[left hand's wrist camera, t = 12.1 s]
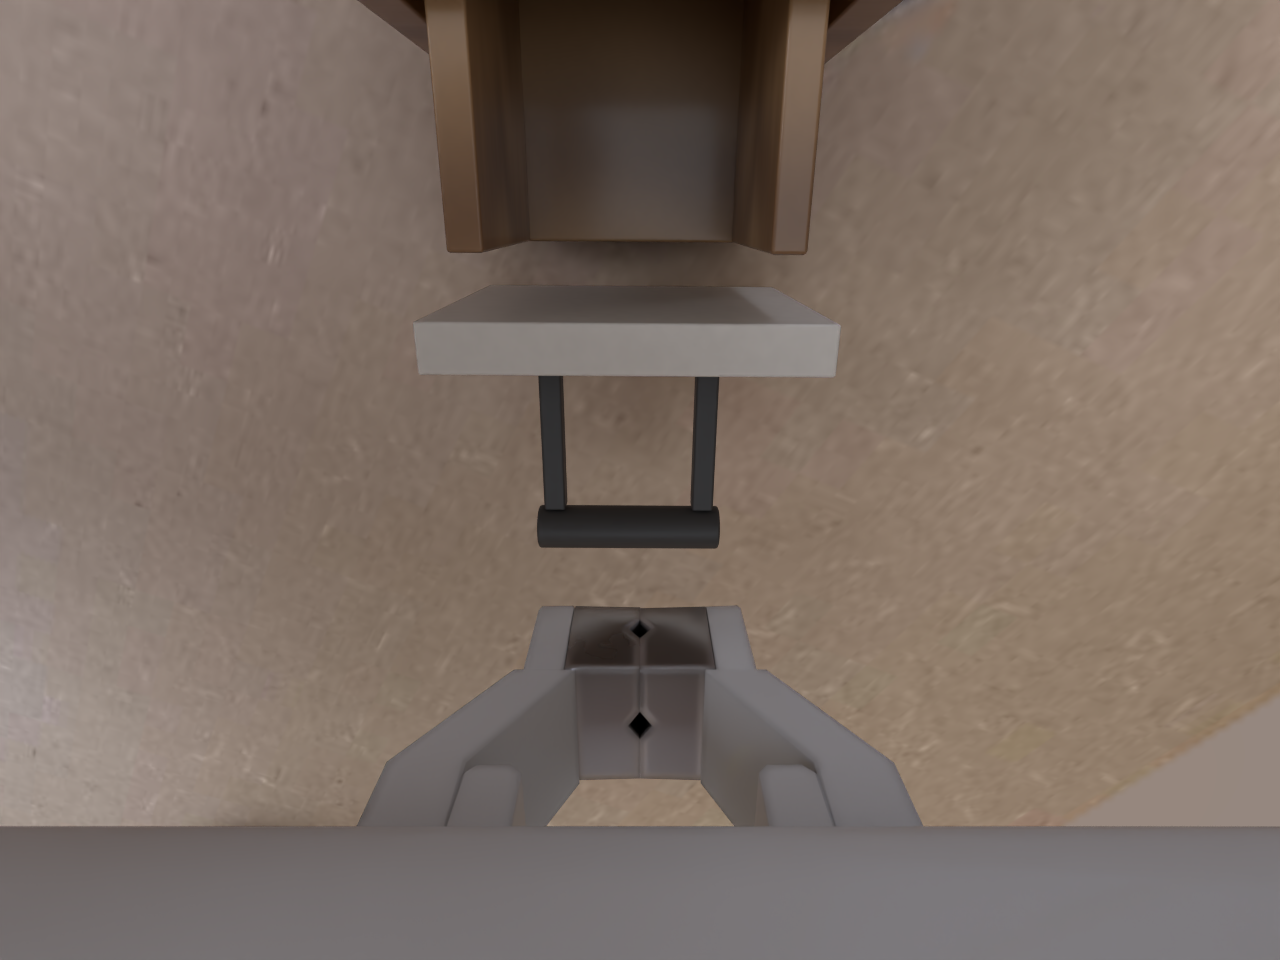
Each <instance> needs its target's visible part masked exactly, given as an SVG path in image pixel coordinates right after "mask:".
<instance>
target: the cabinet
mask: <svg viewBox="0 0 1280 960" xmlns="http://www.w3.org/2000/svg"><path fill="white" fill-rule="evenodd" d="M358 1H359V2H361V3H362V4H363V5H365V6H366V7H367V8H368V9H370V10H371V11H372V12H374V13H375V14H376V15H378V16H379V17H380V18H382V19H383V20H384V21H386V22H387V23H388V24H390V25H391V26H392V27H394V28H395V29H396V30H398V31H399V32H400V33H402V34H403V35H404V36H406V37H407V38H408V39H409V40H411V41H412V42H413V43H415V44H416V45H417V46H419V47H420V48H421V49H423V50H424V51H425V52H427V53H428V54H429V47H428V36H427V25H426V14H425V3H424V0H358ZM902 1H903V0H830V8H829V19H828V30H827V41H826V51H825V62H824V64H825V63H826V62H827V61H829V60H830V59H831V58H832V57H834V56H835V55H836V54H837V53H839V52H840V51H841V50H842V49H844V48H845V47H846V46H847V45H849V44H850V43H851V42H852V41H853V40H855V39H856V38H857V37H858V36H860V35H861V34H862V33H863V32H865V31H866V30H867V29H868V28H870V27H871V26H872V25H873V24H874V23H876V22H877V21H878V20H879V19H881V18H882V17H883V16H884V15H886V14H887V13H888V12H889V11H891V10H892V9H893V8H894V7H895V6H897V5H898V4H899V3H900V2H902Z"/></svg>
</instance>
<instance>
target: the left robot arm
mask: <svg viewBox="0 0 1280 960" xmlns="http://www.w3.org/2000/svg"><path fill="white" fill-rule="evenodd" d="M632 778H646V779H682V780H701V784H702V785H703V786H704V788H705V789H706V790H707V792H708V793H709V794H710V795H711V797H712V798H713V799H714V801H715V802H716V803H717V804H718V806H719V807H720V808H721V810H722V811H723V812H724V813H725V815H726V816H727V817H728V819H729V820H730V821H731V822H732V824H733V825H734V826H546V825H547V824H548V823H549V822H550V820H551V819H552V818H553V816H554V815H555V814H556V813H557V811H558V810H559V809H560V808H561V806H562V805H563V804H564V802H565V801H566V800H567V799H568V797H569V796H570V795H571V793H572V792H573V791H574V790H575V788H576V787H577V786H578V785H579V780H597V779H632ZM0 960H1280V827H1160V826H1157V827H1156V826H1154V827H1152V826H1151V827H1150V826H1147V827H1146V826H1138V827H1137V826H923V825H922V822H921V820H920V818H919V816H918V814H917V812H916V809H915V807H914V805H913V803H912V801H911V799H910V796H909V794H908V792H907V790H906V788H905V786H904V783H903V781H902V779H901V777H900V775H899V773H898V770H897V768H896V766H895V764H894V763H893V762H892V761H891V760H889V759H888V758H887V757H885V756H884V755H883V754H881V753H880V752H878V751H877V750H876V749H874V748H873V747H872V746H870V745H869V744H867V743H866V742H865V741H863V740H862V739H861V738H859V737H858V736H856V735H855V734H854V733H852V732H851V731H850V730H848V729H847V728H845V727H844V726H843V725H841V724H840V723H839V722H837V721H836V720H834V719H833V718H832V717H830V716H829V715H828V714H826V713H825V712H823V711H822V710H821V709H819V708H818V707H817V706H815V705H814V704H812V703H811V702H810V701H808V700H807V699H806V698H804V697H803V696H802V695H800V694H799V693H797V692H796V691H795V690H793V689H792V688H791V687H789V686H788V685H786V684H785V683H784V682H782V681H781V680H780V679H778V678H777V677H775V676H774V675H773V674H771V673H770V672H769V671H767V670H757V669H756V666H755V662H754V658H753V654H752V650H751V646H750V643H749V639H748V635H747V631H746V627H745V624H744V620H743V616H742V612H741V608H739V607H738V606H712V607H674V608H640V607H589V606H576V607H574V606H542V607H541V608H540V609H539V611H538V615H537V619H536V623H535V627H534V631H533V634H532V638H531V642H530V646H529V650H528V654H527V658H526V662H525V665H524V669H523V670H513V671H511V672H510V673H509V674H507V675H506V676H505V677H503V678H502V679H500V680H499V681H498V682H496V683H495V684H494V685H492V686H491V687H489V688H488V689H487V690H485V691H484V692H482V693H481V694H480V695H478V696H477V697H476V698H474V699H473V700H471V701H470V702H469V703H467V704H466V705H465V706H463V707H462V708H460V709H459V710H458V711H456V712H455V713H454V714H452V715H451V716H449V717H448V718H447V719H445V720H444V721H442V722H441V723H440V724H438V725H437V726H436V727H434V728H433V729H431V730H430V731H429V732H427V733H426V734H425V735H423V736H422V737H420V738H419V739H418V740H416V741H415V742H414V743H412V744H411V745H409V746H408V747H407V748H405V749H404V750H402V751H401V752H400V753H398V754H397V755H396V756H394V757H393V758H391V759H390V760H389V761H387V763H386V765H385V767H384V769H383V771H382V773H381V775H380V778H379V780H378V782H377V784H376V786H375V788H374V790H373V792H372V795H371V797H370V799H369V801H368V803H367V805H366V807H365V810H364V812H363V814H362V816H361V818H360V820H359V822H358V825H357V826H0Z"/></svg>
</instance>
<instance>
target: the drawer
mask: <svg viewBox="0 0 1280 960" xmlns="http://www.w3.org/2000/svg"><path fill="white" fill-rule="evenodd" d="M424 3H425V14H426V25H427V36H428V47H429V58H430V69H431V80H432V91H433V102H434V113H435V124H436V135H437V146H438V157H439V168H440V179H441V190H442V201H443V212H444V223H445V234H446V245H447V250H448V252H450V253H482V252H486V251H490V250H494V249H498V248H502V247H506V246H510V245H514V244H518V243H522V242H526V241H604V242H734V243H738V244H741V245H744V246H747V247H751V248H754V249H757V250H760V251H764V252H767V253H770V254H773V255H804V254H806V252H807V249H808V238H809V227H810V216H811V205H812V194H813V183H814V172H815V161H816V150H817V139H818V128H819V117H820V106H821V95H822V84H823V73H824V62H825V51H826V41H827V30H828V19H829V8H830V0H424ZM413 329H414V338H415V347H416V356H417V365H418V372H419V374H420V375H510V376H538V377H539V398H540V419H541V440H542V461H543V482H544V503H545V505H542V506H540V508H539V511H538V519H537V537H538V543H539V546H540V547H545V548H714V549H715V548H717V547H718V544H719V537H720V518H719V510H718V508H717V507H716V506H713V490H714V470H715V450H716V430H717V410H718V390H719V377H809V378H833V377H835V375H836V367H837V358H838V349H839V340H840V331H841V326H840V325H839V324H838V323H836V322H834V321H832V320H830V319H829V318H827V317H825V316H823V315H821V314H820V313H818V312H816V311H814V310H812V309H811V308H809V307H807V306H805V305H803V304H802V303H800V302H798V301H796V300H794V299H793V298H791V297H789V296H787V295H785V294H784V293H782V292H780V291H778V290H776V289H775V288H773V287H668V286H528V285H490V286H488V287H486V288H483V289H481V290H479V291H477V292H475V293H473V294H471V295H469V296H467V297H465V298H463V299H461V300H458V301H456V302H454V303H452V304H450V305H448V306H446V307H444V308H442V309H440V310H438V311H436V312H433V313H431V314H429V315H427V316H425V317H423V318H421V319H419V320H417V321H415V322H413ZM563 376H660V377H695V393H694V420H693V448H692V475H691V506H620V505H567V479H566V450H565V421H564V392H563Z"/></svg>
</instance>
